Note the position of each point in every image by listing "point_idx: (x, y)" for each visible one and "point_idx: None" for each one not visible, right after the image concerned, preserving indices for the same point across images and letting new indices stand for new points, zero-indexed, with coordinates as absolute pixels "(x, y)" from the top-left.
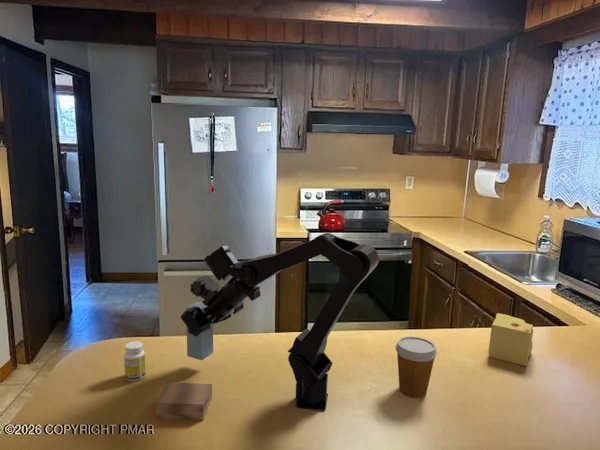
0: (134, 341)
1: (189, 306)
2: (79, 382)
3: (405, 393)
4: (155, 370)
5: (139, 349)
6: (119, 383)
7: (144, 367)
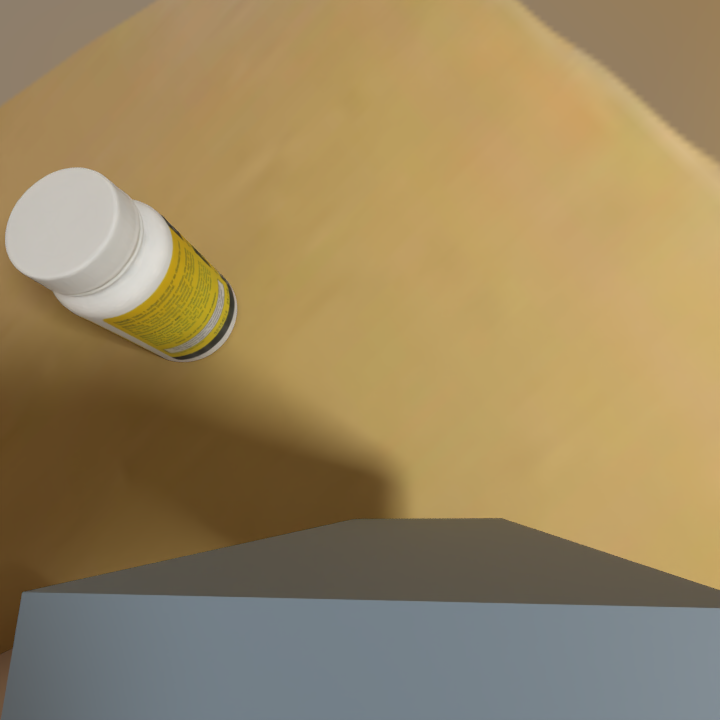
0: (105, 179)
1: (127, 654)
2: (70, 165)
3: None
4: (285, 351)
5: (58, 287)
6: None
7: (175, 342)
